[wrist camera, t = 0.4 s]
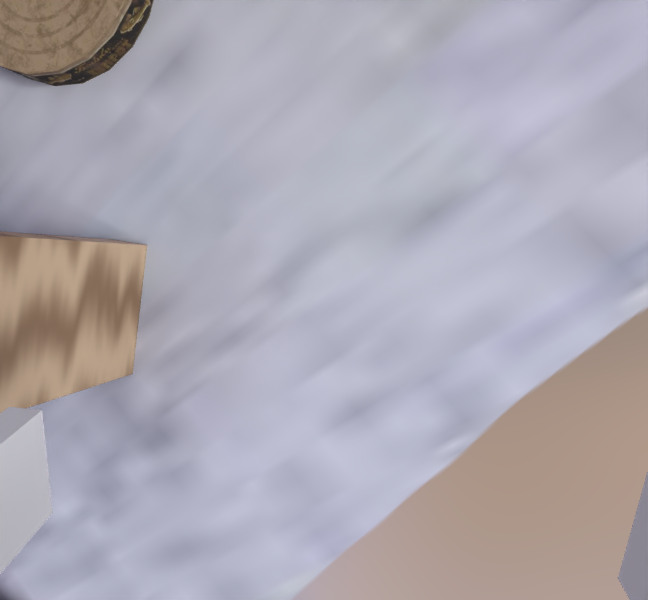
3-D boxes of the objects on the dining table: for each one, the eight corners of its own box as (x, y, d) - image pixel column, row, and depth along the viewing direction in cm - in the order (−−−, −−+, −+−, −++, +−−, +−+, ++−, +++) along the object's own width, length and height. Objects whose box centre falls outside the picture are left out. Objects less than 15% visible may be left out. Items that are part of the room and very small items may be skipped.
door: (108, 238, 41) (-66, 226, 28) (147, 245, 41) (-13, 235, 27) (95, 365, 42) (-79, 411, 29) (132, 373, 42) (-29, 426, 28)
